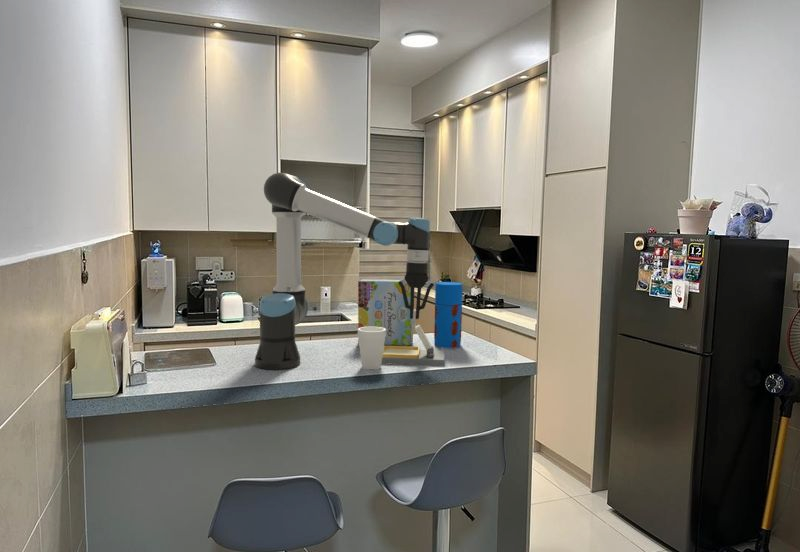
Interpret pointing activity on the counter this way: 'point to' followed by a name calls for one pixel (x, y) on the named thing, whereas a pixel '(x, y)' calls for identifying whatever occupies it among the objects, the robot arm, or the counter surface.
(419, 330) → the lever
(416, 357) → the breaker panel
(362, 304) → the snack box
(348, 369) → the counter surface
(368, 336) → the foam cup
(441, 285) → the thermos
